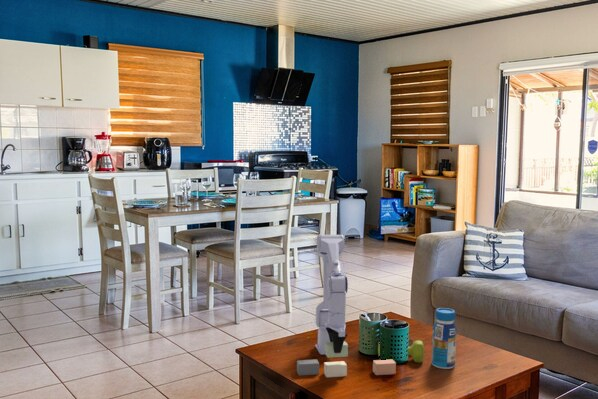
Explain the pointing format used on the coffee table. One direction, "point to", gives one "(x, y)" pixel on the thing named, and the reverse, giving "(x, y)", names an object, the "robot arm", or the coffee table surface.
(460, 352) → the coffee table surface
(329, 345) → the brick sage
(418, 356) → the dumbbell
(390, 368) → the brick terracotta
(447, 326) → the beverage bottle
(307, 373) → the brick charcoal
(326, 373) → the brick cream
